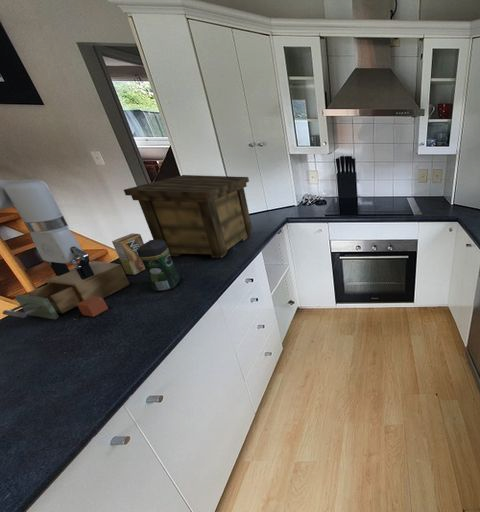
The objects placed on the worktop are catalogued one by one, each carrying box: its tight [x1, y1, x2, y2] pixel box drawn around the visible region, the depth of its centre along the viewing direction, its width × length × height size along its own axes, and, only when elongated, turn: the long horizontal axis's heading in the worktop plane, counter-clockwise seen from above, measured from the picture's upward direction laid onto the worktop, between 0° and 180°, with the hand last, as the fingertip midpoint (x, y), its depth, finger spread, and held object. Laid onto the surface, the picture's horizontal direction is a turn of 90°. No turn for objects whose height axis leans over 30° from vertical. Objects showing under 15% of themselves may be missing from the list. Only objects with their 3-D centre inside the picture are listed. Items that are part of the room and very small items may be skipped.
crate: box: [123, 174, 254, 259], centre depth 134 cm, size 35×35×33 cm
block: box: [76, 296, 109, 318], centre depth 91 cm, size 4×4×4 cm
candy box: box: [111, 232, 146, 276], centre depth 115 cm, size 9×4×15 cm, turn 175°
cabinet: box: [45, 260, 131, 301], centre depth 100 cm, size 15×13×9 cm
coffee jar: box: [137, 239, 181, 292], centre depth 104 cm, size 10×8×19 cm
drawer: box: [2, 283, 83, 320], centre depth 90 cm, size 18×11×7 cm, turn 170°
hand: (75, 275), depth 86 cm, fingers open, 9 cm apart
